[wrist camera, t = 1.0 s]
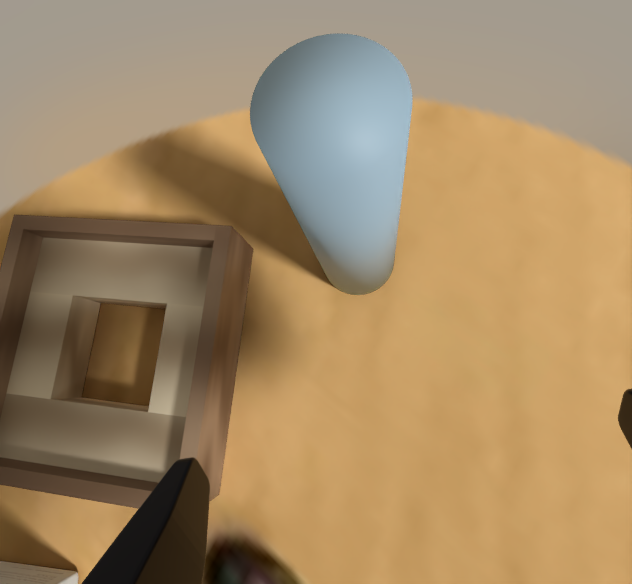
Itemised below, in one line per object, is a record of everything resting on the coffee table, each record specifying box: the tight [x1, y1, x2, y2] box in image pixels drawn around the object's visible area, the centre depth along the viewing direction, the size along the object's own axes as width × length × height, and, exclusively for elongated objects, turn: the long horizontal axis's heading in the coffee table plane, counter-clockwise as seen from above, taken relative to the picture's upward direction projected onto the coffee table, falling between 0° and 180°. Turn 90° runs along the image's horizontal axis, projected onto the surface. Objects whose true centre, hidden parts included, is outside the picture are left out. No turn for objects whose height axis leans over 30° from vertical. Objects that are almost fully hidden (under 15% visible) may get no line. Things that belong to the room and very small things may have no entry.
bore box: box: [0, 215, 253, 508], centre depth 23 cm, size 14×13×4 cm
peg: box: [250, 34, 412, 295], centre depth 17 cm, size 4×4×14 cm
